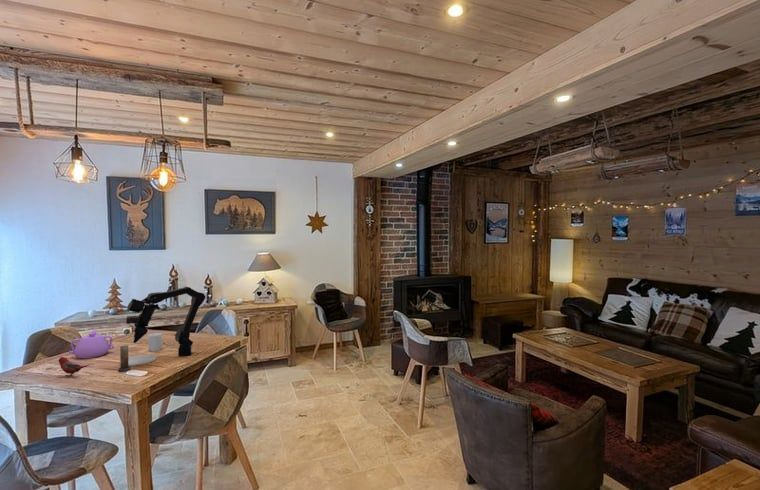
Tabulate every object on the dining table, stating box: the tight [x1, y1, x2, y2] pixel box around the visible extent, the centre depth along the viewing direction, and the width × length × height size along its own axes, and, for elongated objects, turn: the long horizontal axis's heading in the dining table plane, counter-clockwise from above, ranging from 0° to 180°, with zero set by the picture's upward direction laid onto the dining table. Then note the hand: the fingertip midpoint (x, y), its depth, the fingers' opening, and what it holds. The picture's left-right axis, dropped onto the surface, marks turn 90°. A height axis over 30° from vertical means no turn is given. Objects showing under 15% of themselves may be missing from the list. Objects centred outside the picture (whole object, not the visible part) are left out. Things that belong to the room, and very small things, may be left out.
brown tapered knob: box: [117, 344, 132, 373], centre depth 199 cm, size 6×6×13 cm
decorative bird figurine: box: [57, 356, 90, 377], centre depth 190 cm, size 3×18×10 cm, turn 84°
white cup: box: [147, 332, 163, 352], centre depth 236 cm, size 8×8×10 cm
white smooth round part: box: [128, 354, 157, 367], centre depth 214 cm, size 18×18×1 cm
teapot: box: [68, 328, 115, 359], centre depth 226 cm, size 22×22×14 cm
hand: (134, 340), depth 209 cm, fingers open, 9 cm apart
